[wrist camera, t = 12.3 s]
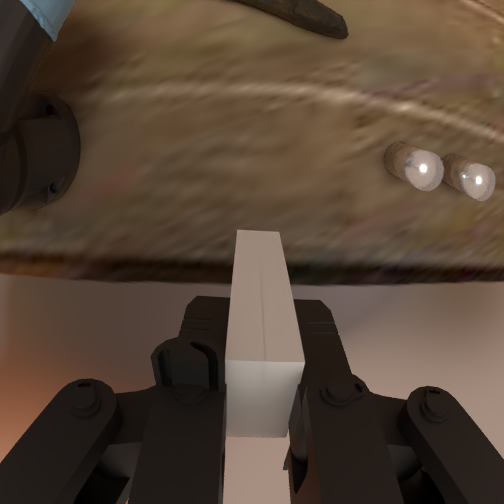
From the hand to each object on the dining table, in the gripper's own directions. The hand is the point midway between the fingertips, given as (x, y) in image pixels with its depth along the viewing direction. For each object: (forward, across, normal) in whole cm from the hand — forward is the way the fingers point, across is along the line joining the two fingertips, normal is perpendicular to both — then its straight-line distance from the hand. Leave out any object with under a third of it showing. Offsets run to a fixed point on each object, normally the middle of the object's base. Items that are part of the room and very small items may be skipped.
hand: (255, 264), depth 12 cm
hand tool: (+25, 0, -19) cm, 31 cm away
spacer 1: (+24, -17, -2) cm, 30 cm away
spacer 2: (+24, -25, -2) cm, 35 cm away
